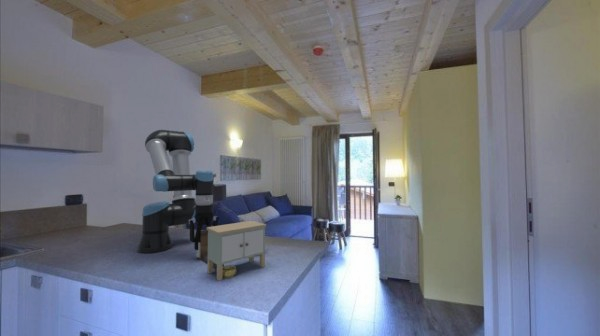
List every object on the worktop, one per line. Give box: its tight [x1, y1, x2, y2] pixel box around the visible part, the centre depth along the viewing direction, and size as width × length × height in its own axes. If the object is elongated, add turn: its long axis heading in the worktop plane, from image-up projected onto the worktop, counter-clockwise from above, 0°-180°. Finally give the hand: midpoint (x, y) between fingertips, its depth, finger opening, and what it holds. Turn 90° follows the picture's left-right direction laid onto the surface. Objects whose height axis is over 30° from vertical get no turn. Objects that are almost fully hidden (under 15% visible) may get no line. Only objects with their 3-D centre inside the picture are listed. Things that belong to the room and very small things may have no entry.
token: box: [222, 264, 237, 279], centre depth 92 cm, size 6×6×2 cm
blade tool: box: [197, 229, 225, 271], centre depth 105 cm, size 20×4×12 cm, turn 43°
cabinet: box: [206, 220, 267, 282], centre depth 98 cm, size 12×21×18 cm, turn 133°
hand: (203, 255), depth 110 cm, fingers closed on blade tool, 4 cm apart
